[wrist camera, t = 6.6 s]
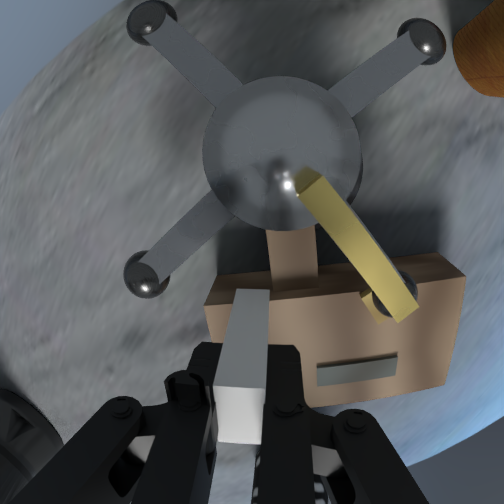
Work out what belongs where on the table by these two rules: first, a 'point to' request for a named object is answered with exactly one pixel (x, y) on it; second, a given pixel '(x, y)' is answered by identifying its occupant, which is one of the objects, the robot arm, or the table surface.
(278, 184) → the capstan
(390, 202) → the table surface
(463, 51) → the disposable coffee cup
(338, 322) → the walnut stand
